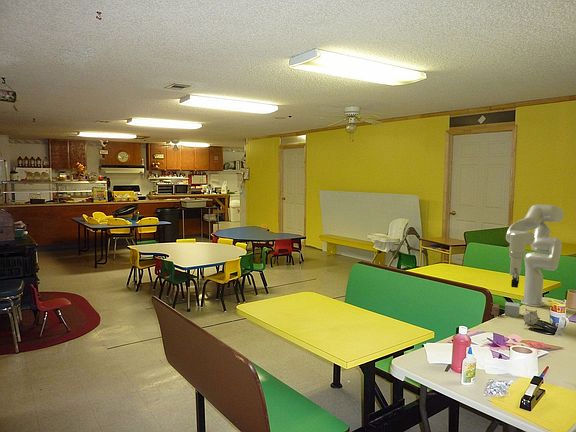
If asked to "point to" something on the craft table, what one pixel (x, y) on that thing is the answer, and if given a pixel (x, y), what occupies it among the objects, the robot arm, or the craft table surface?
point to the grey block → (512, 309)
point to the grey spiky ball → (530, 317)
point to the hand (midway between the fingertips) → (515, 285)
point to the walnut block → (495, 310)
